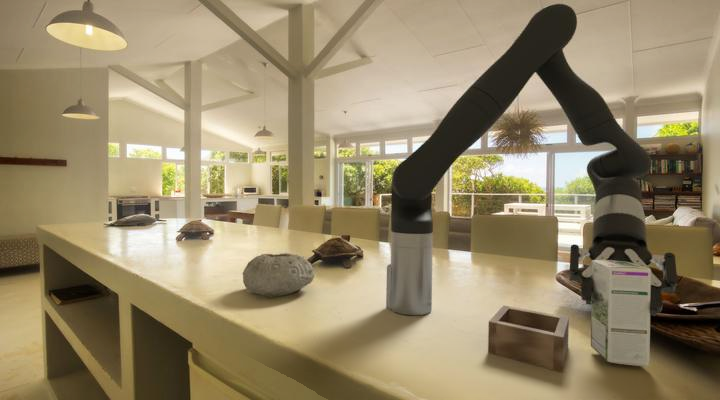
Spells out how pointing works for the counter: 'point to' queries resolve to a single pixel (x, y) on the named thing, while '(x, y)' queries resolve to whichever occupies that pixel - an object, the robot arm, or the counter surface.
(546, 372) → the counter surface
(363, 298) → the counter surface
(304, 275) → the grey carved stone
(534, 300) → the counter surface
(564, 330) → the walnut collar
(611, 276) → the syrup box
